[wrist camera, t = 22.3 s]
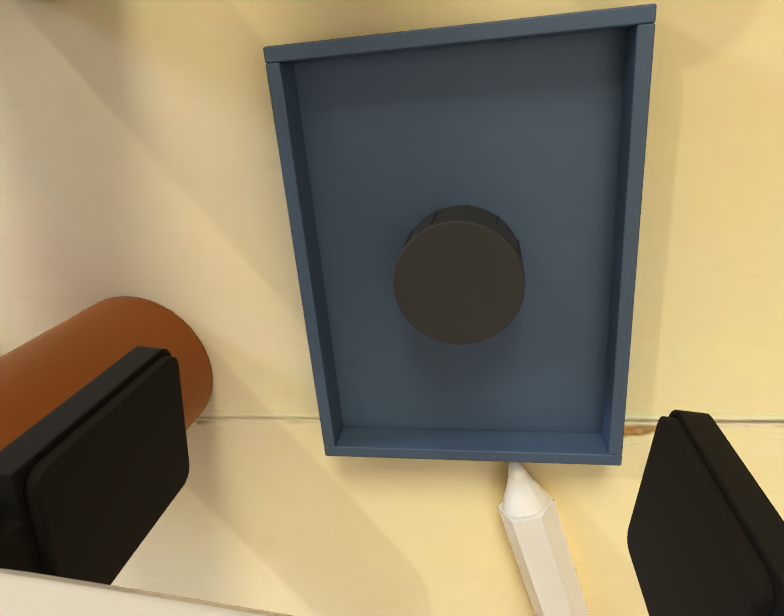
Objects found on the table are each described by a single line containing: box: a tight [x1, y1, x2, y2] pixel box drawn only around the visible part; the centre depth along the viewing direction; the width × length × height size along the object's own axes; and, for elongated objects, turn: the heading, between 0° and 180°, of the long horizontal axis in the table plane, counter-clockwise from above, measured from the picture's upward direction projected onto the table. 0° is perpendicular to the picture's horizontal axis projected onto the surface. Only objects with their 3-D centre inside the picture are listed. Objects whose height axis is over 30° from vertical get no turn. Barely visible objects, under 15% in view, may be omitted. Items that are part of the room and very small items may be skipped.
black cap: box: [394, 204, 526, 345], centre depth 20 cm, size 4×4×3 cm
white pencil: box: [498, 462, 590, 616], centre depth 26 cm, size 3×2×16 cm
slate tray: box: [263, 4, 656, 465], centre depth 21 cm, size 16×12×2 cm
